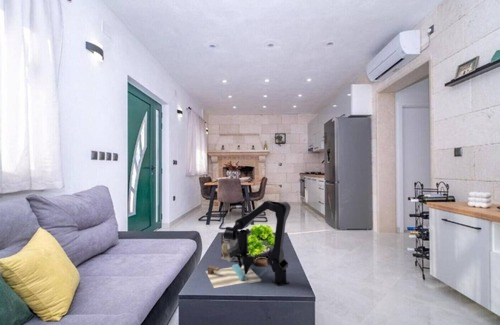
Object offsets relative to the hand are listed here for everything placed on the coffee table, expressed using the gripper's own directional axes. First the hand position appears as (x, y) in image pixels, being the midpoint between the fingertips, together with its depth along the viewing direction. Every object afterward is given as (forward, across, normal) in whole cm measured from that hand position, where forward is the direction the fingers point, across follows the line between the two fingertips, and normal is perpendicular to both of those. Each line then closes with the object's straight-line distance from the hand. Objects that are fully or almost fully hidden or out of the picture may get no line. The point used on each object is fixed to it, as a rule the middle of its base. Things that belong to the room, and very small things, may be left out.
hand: (243, 270), depth 137 cm
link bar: (+1, +1, -2) cm, 3 cm away
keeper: (+1, -4, -14) cm, 15 cm away
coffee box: (+2, -24, -1) cm, 24 cm away
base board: (+2, +1, -6) cm, 7 cm away
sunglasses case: (+3, -14, +17) cm, 22 cm away
